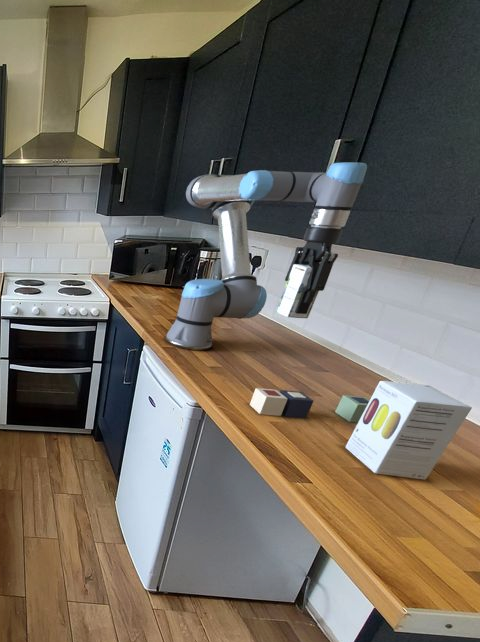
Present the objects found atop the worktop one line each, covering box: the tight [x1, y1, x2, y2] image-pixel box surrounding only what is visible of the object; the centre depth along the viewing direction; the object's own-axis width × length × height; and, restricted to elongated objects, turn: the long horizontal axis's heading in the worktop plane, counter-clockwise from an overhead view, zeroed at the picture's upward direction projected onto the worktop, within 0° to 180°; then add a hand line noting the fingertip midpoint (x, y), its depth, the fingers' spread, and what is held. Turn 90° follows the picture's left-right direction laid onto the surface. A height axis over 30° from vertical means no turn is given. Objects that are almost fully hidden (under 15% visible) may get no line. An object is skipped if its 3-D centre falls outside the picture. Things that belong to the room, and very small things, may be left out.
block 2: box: [279, 389, 314, 419], centre depth 102 cm, size 5×5×5 cm
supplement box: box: [345, 380, 473, 480], centre depth 81 cm, size 10×9×17 cm
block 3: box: [334, 394, 370, 424], centre depth 100 cm, size 5×5×5 cm
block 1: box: [249, 387, 287, 417], centre depth 102 cm, size 5×5×5 cm
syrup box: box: [275, 264, 320, 319], centre depth 115 cm, size 6×6×14 cm
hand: (293, 310), depth 117 cm, fingers closed on syrup box, 6 cm apart
